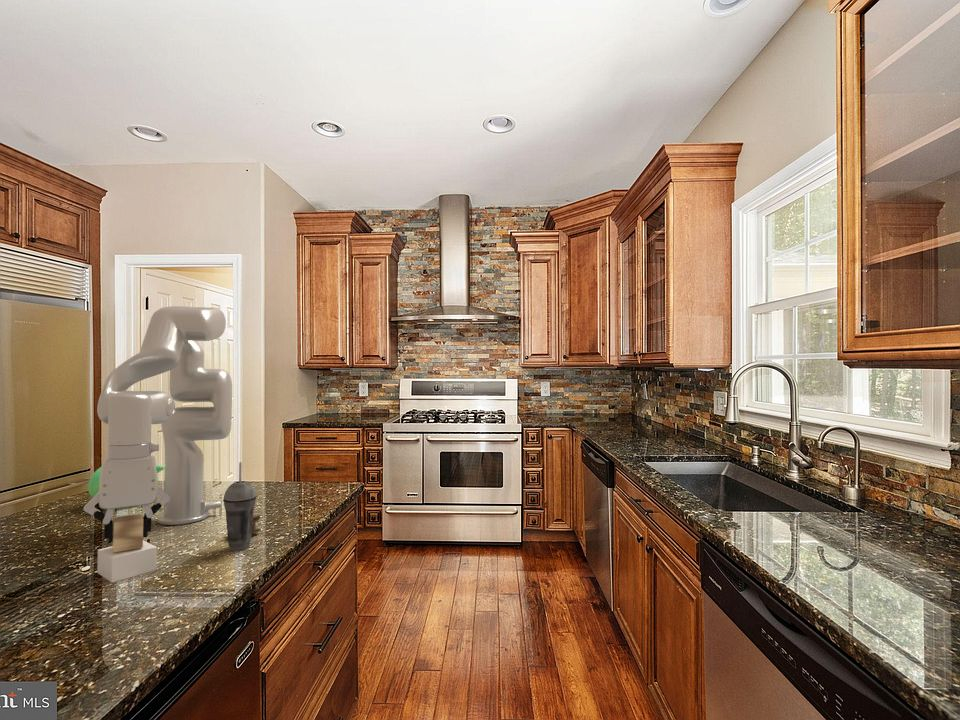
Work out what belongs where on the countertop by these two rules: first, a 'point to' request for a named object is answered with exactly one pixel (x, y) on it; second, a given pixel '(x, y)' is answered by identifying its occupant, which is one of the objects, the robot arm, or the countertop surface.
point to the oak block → (127, 532)
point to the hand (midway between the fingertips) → (128, 537)
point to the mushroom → (255, 519)
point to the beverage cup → (239, 513)
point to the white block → (126, 562)
